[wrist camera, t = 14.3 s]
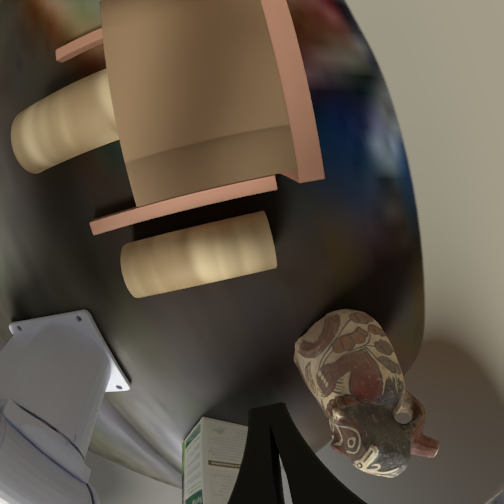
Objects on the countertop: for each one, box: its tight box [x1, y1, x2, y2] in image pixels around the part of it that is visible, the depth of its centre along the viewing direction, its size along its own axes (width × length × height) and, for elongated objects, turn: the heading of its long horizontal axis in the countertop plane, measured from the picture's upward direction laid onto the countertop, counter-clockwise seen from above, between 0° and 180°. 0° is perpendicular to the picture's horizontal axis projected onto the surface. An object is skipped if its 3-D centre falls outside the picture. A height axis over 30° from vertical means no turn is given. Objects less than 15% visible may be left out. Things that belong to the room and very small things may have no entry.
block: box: [100, 0, 298, 207], centre depth 11 cm, size 6×9×6 cm, turn 11°
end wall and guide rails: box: [56, 0, 325, 235], centre depth 11 cm, size 12×12×6 cm
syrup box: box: [182, 417, 248, 504], centre depth 18 cm, size 6×6×14 cm
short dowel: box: [121, 211, 277, 298], centre depth 16 cm, size 8×3×3 cm, turn 101°
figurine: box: [294, 309, 440, 477], centre depth 16 cm, size 7×7×12 cm
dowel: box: [11, 69, 119, 174], centre depth 12 cm, size 12×4×4 cm, turn 101°
